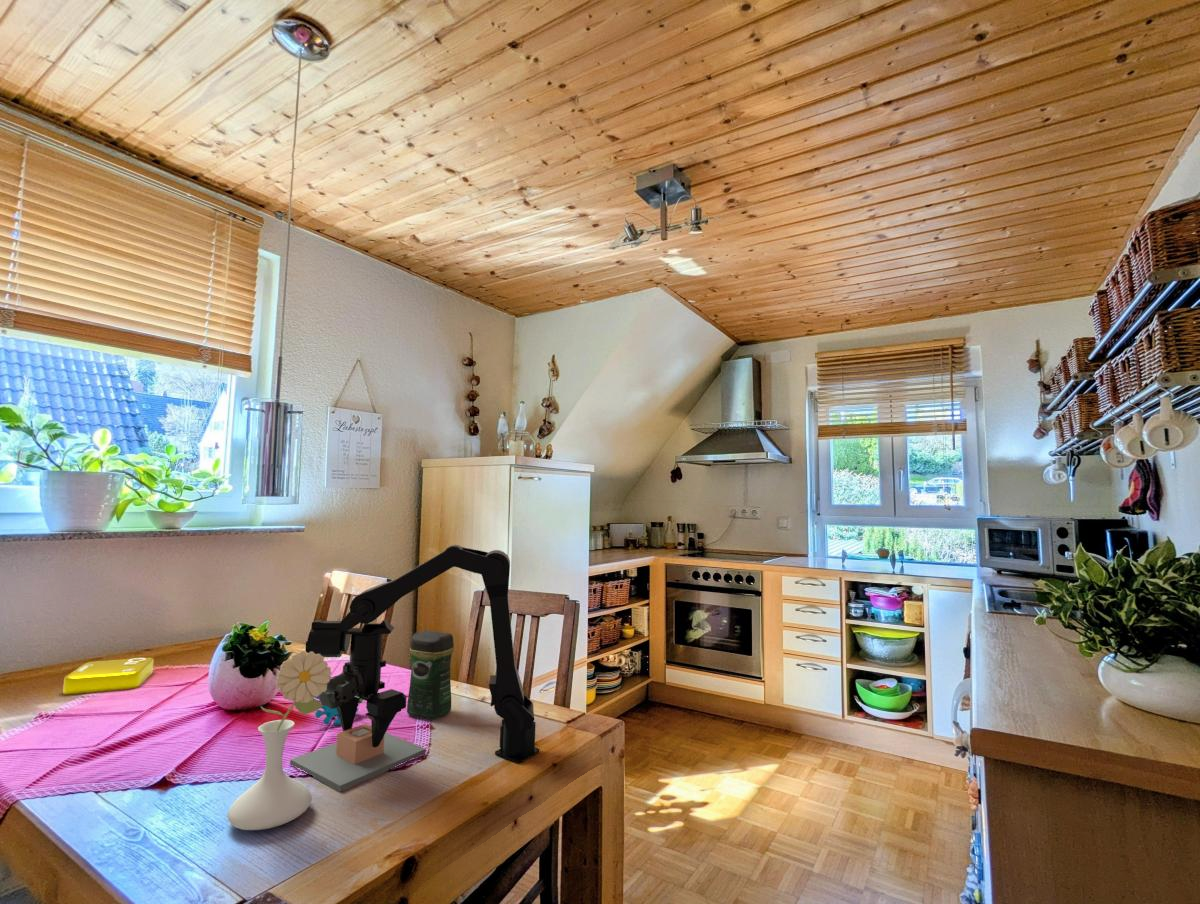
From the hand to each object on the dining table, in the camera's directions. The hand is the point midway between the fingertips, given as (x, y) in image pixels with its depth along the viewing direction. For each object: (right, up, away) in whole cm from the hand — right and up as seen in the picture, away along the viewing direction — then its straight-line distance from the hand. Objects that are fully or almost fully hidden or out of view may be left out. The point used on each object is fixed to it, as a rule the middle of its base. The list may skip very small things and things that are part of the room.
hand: (360, 740), depth 109 cm
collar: (0, -3, 0) cm, 2 cm away
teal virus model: (-13, -5, +18) cm, 23 cm away
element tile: (-80, -5, +38) cm, 89 cm away
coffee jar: (+6, -6, +23) cm, 25 cm away
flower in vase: (-5, -2, -20) cm, 21 cm away
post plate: (0, -4, 0) cm, 4 cm away
